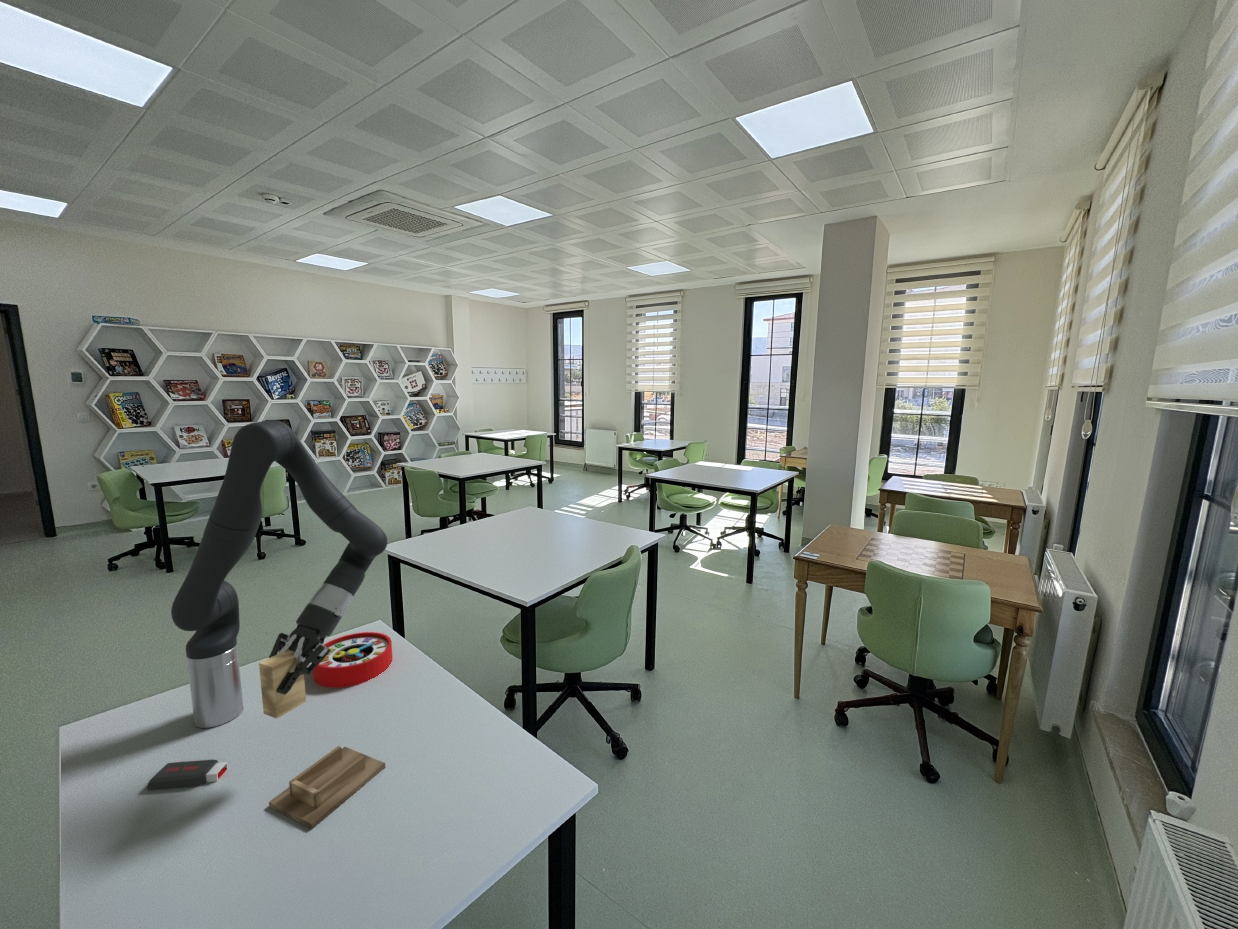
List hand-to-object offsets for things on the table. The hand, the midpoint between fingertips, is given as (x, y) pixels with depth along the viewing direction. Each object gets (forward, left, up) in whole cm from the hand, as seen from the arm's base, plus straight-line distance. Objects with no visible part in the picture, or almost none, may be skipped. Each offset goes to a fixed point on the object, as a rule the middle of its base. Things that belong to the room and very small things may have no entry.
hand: (273, 689), depth 97 cm
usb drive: (-16, -8, -19) cm, 26 cm away
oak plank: (0, +2, -5) cm, 5 cm away
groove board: (+12, +2, -19) cm, 22 cm away
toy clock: (-21, +34, -19) cm, 45 cm away
